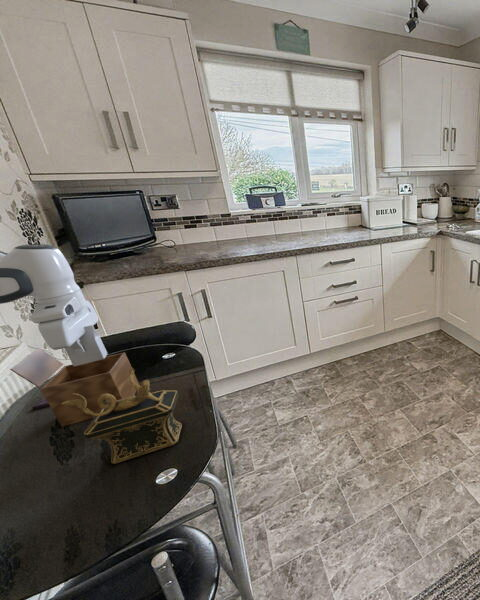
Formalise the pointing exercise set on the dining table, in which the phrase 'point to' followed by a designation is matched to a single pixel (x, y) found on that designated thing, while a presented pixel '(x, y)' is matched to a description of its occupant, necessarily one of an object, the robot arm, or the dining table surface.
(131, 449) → the decorative box
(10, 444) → the dining table surface
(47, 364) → the flap
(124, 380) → the carton
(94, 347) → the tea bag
